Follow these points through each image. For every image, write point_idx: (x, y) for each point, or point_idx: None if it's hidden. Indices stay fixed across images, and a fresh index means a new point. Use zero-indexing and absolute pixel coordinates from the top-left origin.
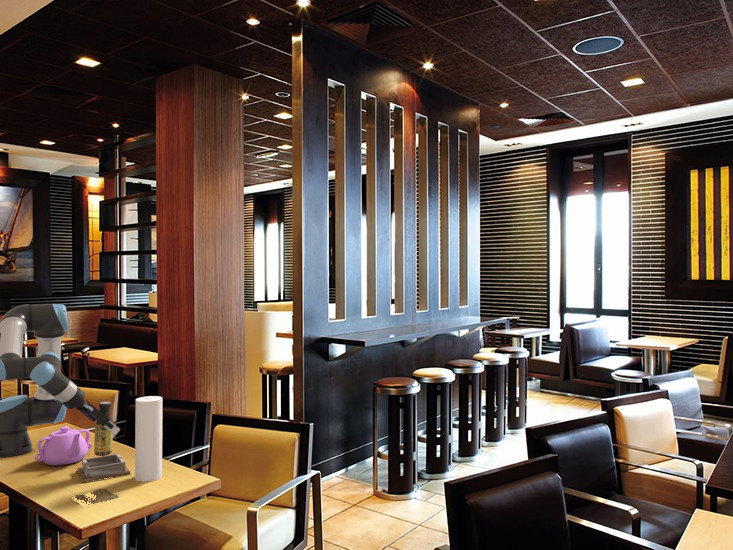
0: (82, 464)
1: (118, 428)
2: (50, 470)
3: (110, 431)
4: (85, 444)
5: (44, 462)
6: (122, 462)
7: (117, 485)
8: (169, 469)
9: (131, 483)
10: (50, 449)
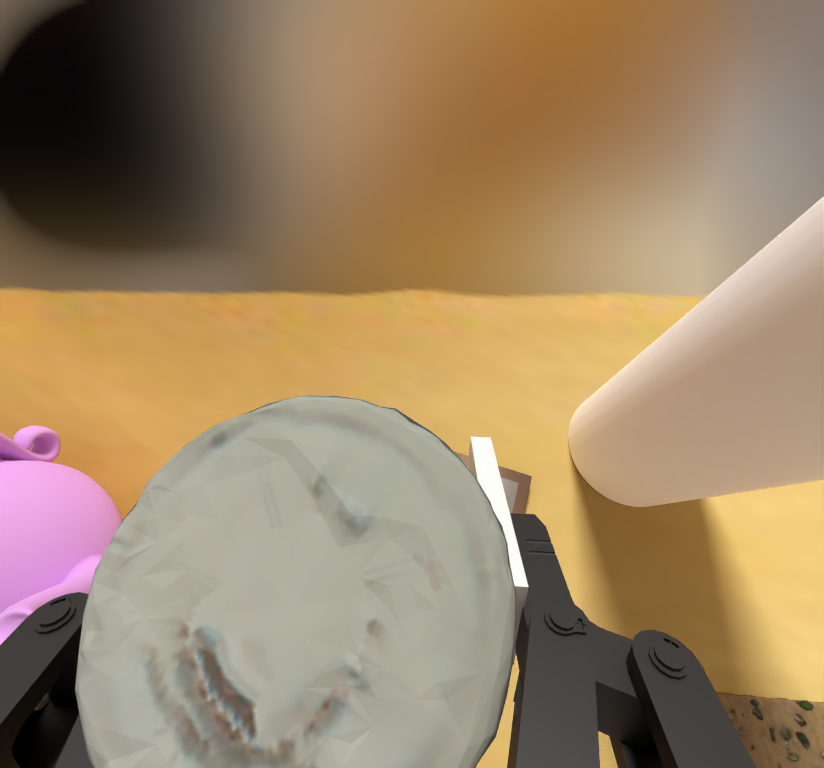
0: None
1: (493, 454)
2: None
3: None
4: (58, 494)
5: None
6: (509, 494)
7: (642, 608)
8: (588, 336)
9: (659, 543)
10: None
